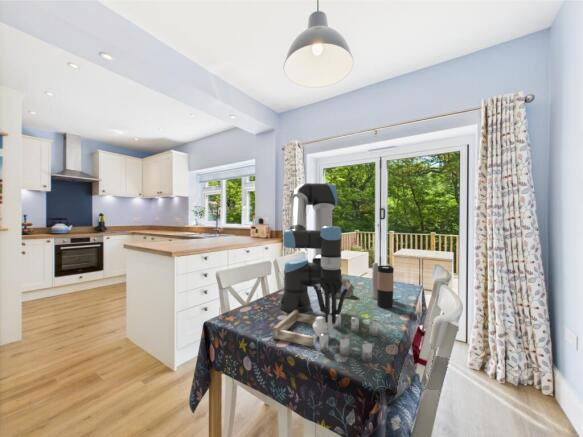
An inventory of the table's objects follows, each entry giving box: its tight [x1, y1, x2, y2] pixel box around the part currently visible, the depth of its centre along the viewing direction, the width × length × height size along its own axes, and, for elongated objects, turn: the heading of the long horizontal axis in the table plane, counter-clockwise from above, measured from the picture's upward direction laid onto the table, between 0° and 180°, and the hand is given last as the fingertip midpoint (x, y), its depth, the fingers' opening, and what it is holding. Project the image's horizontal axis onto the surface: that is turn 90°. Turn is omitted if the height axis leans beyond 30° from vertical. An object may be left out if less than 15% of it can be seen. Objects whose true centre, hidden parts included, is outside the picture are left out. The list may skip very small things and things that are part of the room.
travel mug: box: [376, 264, 395, 310], centre depth 129 cm, size 8×8×20 cm
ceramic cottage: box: [321, 274, 355, 298], centre depth 147 cm, size 16×16×15 cm
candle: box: [371, 262, 379, 300], centre depth 142 cm, size 7×14×20 cm, turn 89°
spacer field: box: [318, 313, 378, 363], centre depth 91 cm, size 17×22×5 cm
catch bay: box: [273, 310, 319, 348], centre depth 99 cm, size 15×20×4 cm
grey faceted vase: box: [312, 315, 328, 337], centre depth 95 cm, size 6×6×7 cm
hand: (330, 331), depth 94 cm, fingers closed
